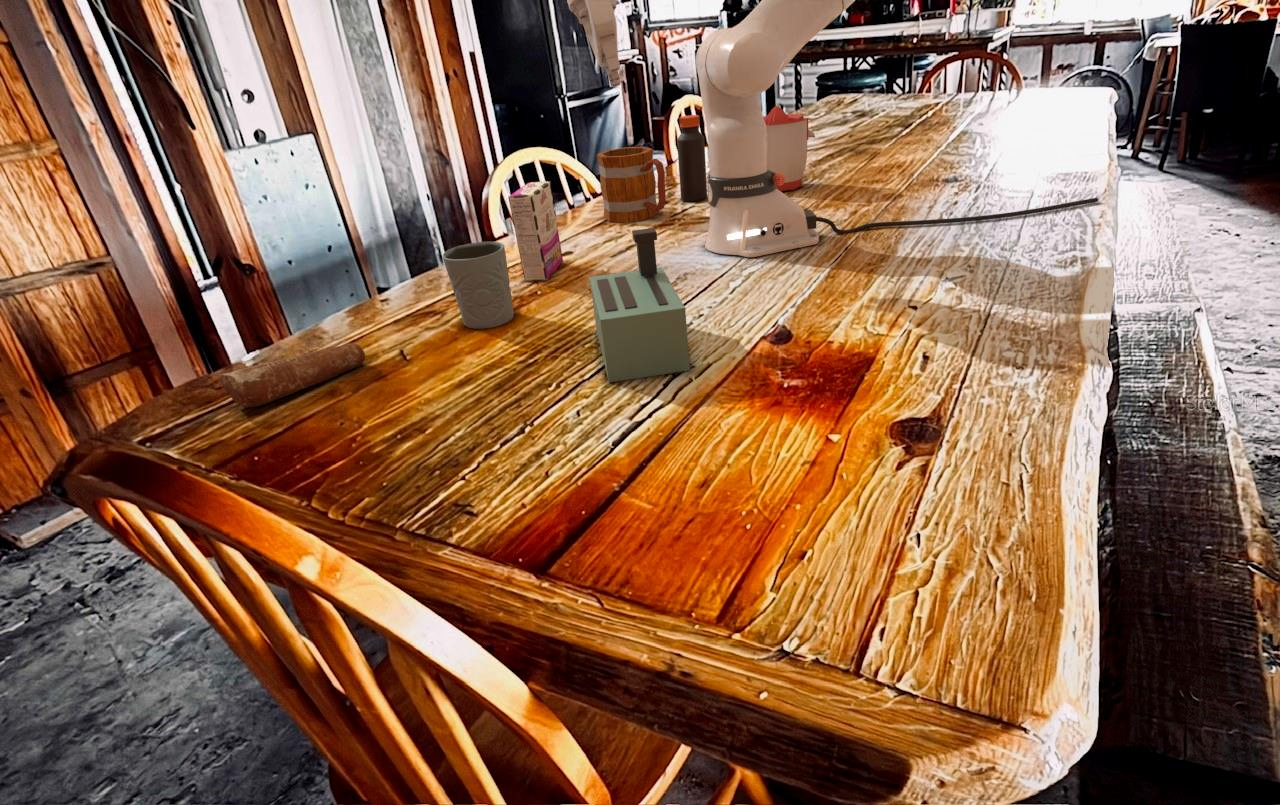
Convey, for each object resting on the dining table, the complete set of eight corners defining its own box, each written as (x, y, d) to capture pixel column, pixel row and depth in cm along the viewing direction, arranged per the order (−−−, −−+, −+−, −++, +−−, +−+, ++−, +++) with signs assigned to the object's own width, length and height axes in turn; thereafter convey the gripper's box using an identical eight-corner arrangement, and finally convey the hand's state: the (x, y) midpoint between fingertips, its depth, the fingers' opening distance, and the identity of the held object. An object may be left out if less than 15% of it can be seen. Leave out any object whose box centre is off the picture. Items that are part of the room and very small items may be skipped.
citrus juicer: (820, 190, 176) (822, 105, 167) (750, 197, 177) (749, 112, 168) (807, 178, 190) (809, 98, 181) (743, 184, 191) (741, 105, 182)
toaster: (666, 322, 110) (661, 265, 106) (689, 370, 94) (685, 306, 90) (596, 332, 109) (589, 275, 105) (608, 382, 94) (600, 318, 89)
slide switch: (657, 269, 104) (653, 227, 101) (660, 274, 102) (656, 231, 99) (636, 272, 104) (631, 230, 101) (638, 277, 102) (634, 234, 99)
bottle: (711, 196, 183) (708, 114, 173) (699, 202, 178) (695, 118, 168) (689, 195, 186) (683, 114, 177) (676, 201, 181) (670, 119, 172)
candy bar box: (540, 263, 145) (527, 182, 137) (564, 262, 144) (551, 180, 136) (522, 282, 135) (506, 195, 127) (547, 281, 134) (532, 194, 126)
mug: (592, 218, 174) (584, 155, 167) (633, 206, 182) (627, 145, 174) (645, 229, 161) (638, 161, 153) (687, 215, 168) (683, 149, 161)
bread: (229, 406, 99) (214, 370, 96) (359, 359, 109) (349, 325, 107) (242, 420, 94) (226, 383, 92) (376, 369, 105) (366, 335, 102)
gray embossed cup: (489, 334, 113) (474, 261, 107) (445, 326, 118) (428, 256, 112) (530, 311, 120) (517, 242, 115) (486, 305, 125) (472, 238, 120)
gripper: (609, -43, 105) (634, 53, 107) (612, 8, 125) (633, 88, 127) (568, -31, 105) (594, 65, 107) (578, 18, 125) (600, 98, 128)
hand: (615, 77), depth 118 cm, fingers open, 8 cm apart
